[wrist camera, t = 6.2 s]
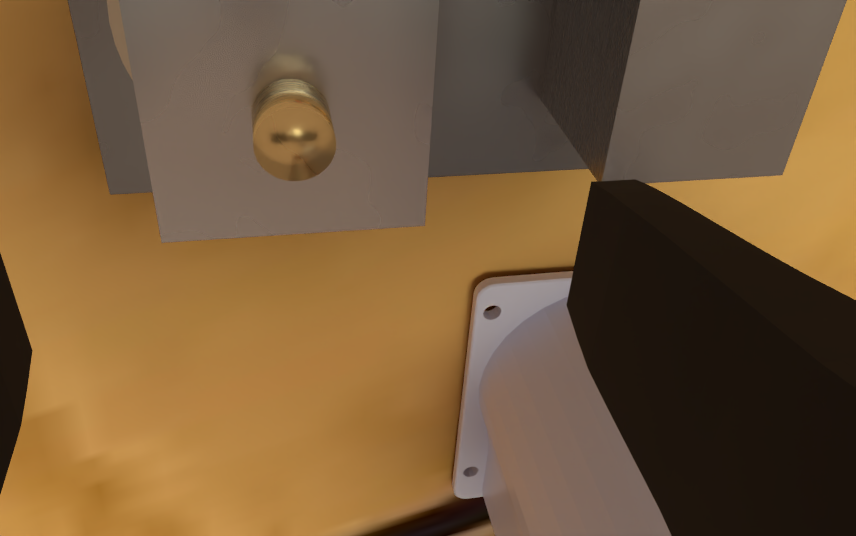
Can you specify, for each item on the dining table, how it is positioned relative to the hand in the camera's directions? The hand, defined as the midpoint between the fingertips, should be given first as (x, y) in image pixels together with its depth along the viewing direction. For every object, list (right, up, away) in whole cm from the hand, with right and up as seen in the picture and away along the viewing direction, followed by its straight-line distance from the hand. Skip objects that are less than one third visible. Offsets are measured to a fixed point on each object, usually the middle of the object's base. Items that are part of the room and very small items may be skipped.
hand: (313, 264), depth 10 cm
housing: (-2, +5, +6) cm, 8 cm away
